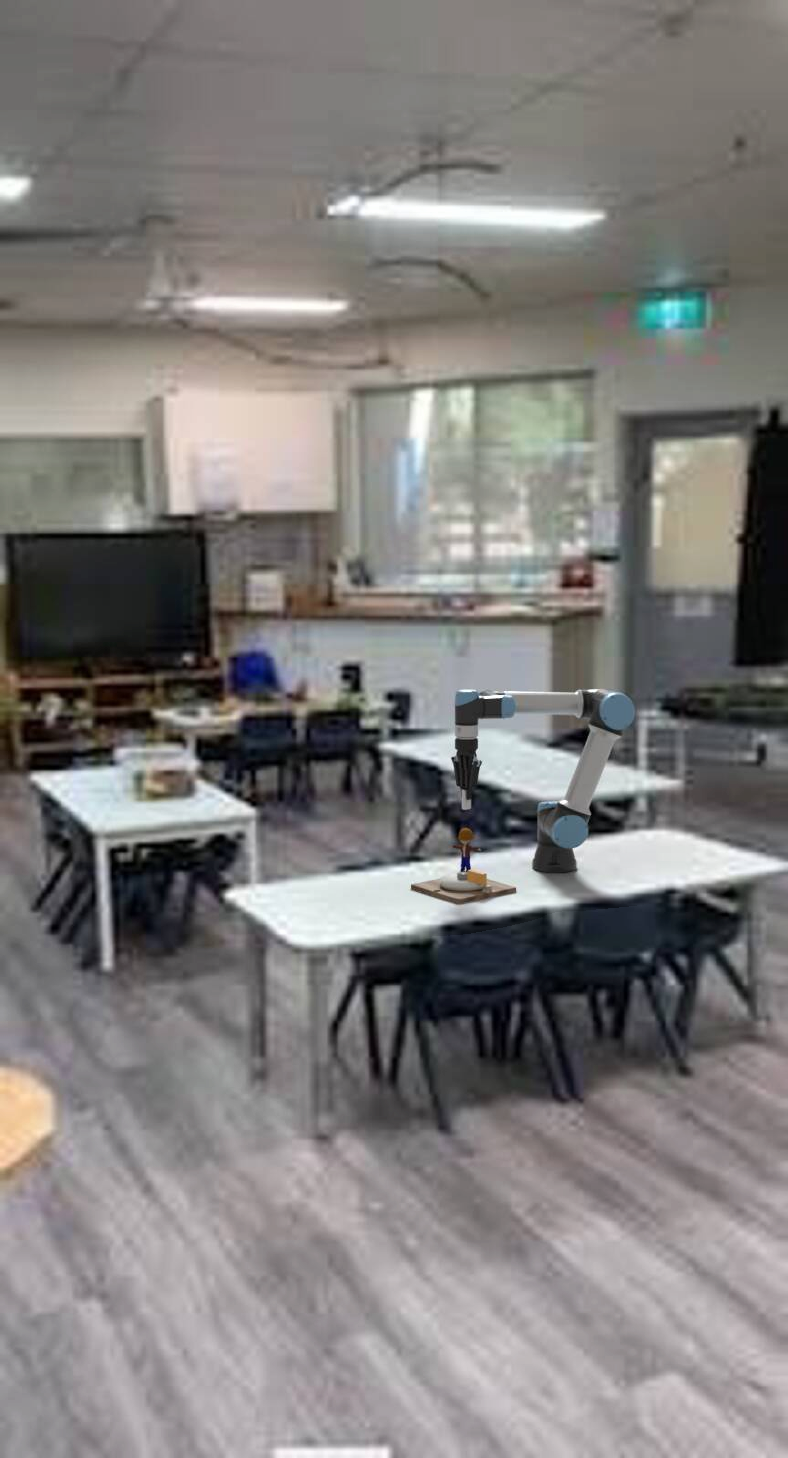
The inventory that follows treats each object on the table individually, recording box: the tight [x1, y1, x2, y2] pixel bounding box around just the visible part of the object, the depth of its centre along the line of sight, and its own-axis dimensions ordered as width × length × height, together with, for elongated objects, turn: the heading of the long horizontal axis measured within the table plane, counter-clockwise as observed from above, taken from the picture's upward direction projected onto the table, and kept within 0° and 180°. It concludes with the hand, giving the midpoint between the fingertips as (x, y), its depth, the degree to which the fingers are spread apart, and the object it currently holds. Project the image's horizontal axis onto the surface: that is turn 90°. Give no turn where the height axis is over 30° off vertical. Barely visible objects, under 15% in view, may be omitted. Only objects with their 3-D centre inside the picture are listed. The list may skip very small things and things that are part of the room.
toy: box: [450, 827, 482, 872], centre depth 486 cm, size 11×6×15 cm, turn 62°
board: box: [410, 878, 517, 905], centre depth 462 cm, size 24×24×4 cm
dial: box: [439, 869, 488, 891], centre depth 461 cm, size 18×15×6 cm
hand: (466, 808), depth 470 cm, fingers closed
